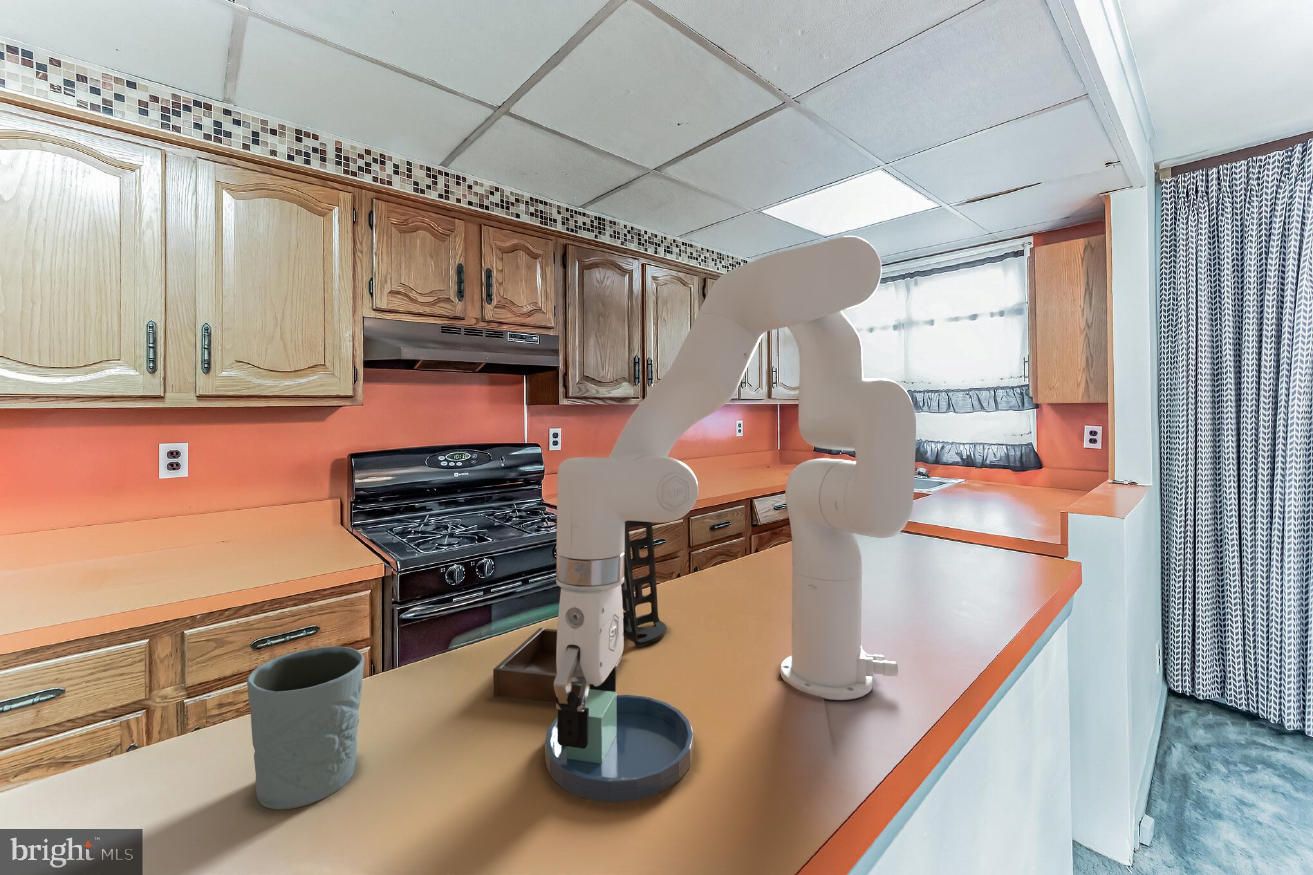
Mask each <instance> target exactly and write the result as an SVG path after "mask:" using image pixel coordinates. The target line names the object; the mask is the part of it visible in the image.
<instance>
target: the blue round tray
mask: <svg viewBox="0 0 1313 875" xmlns="http://www.w3.org/2000/svg"><path fill="white" fill-rule="evenodd" d="M557 729H558V716H556V717H555V719H554V720H553V721H552V723H551V724H550V725H549V727H548V728H547V731H546V735H545V740H544V762H545V764H546V769H547V771H548V773H549V776H550V777H551V778H552V780H553V781H554V782H555V783H556V784H558V786H560V788H562V789H564V790H566V791H567V792H568V793H571V794H573V795H575V796H578V797H581V798H584V799H587V800H591V801H598V802H606V803H607V802H608V803H611V802H612V803H620V802H631V801H636V800H637V801H638V800H642V799H645V798H649V797H652V796H655V795H657V794H660V793H662V792H665V791H666V790H668V789H670V788H671V787H672V786H674V785H675V784H676V783H677V782H679V781H680V780H681V779H682V778H683V777H684V776H685V774H686V773H687V772H688V770H689V769H690V768H691V764H692V761H693V756H694V753H695V752H694V751H695V746H694V744H695V743H694V738H695V735H694V731H693V728H692V725H691V722H690V720H689V719H688V718H687V717H686V716H685V714H684V713H683V712H682V711H681V710H680V709H678V708H676V707H674V706H673V705H671V704H669V702H668V703H667V702H666V701H663V700H659V699H656V698H652V697H650V696H643V695H633V694H617V734H616V736H615V738H614V740H613V742H612V744H611V746H610V748H609V750H608V752H607V754H606V756H605V758H604V760H603V762H602V764H600V763H593V762H586V761H579V760H572V759H567V746H562V745H559V744H558V742H557Z"/></svg>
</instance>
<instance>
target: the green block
mask: <svg viewBox="0 0 1313 875" xmlns="http://www.w3.org/2000/svg"><path fill="white" fill-rule="evenodd" d="M617 695H618V693H617V691H616V692H610V691H601V690H592V689H589V692H588V696H587V701H586V706H585V708H589V735H588V745H587V747H586V748H585V749H582V748H575V747H569V746H567V759H572V760H579V761H586V762H593V763H600V764H602V762H603V760H604V758H605V756H606V754H607V752H608V750H609V748H610V746H611V744H612V742H613V740H614V738H615V736H616V734H617Z"/></svg>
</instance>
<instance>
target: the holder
mask: <svg viewBox="0 0 1313 875" xmlns="http://www.w3.org/2000/svg"><path fill="white" fill-rule="evenodd" d="M637 527H645V536H644V537H641V538H634V539H631V538H630V531H629V530H630V529H631V528H637ZM654 543H655V542H654V531H653V522H644V521H625V551H624V583H623V584H622V585H621V589H622V604H623V634H624V635H625V636H624V637H626V639H628V640H629V641H631V642H633V644H634V645H635V647H637V648H642V647H645V646H648V645H649V644H651V643H654V642H656V641H658V640H659V639H661V638H662V637H664V636H665V635H666V634H667V631H668V630H667V629H668V628H667V624H665V623H664V622H663V621H661V619H660V618H659V607H658V591H657V590H658V588H657V574H656V573H657V572H656V571H657V570H656V560H655V559H656V558H655V557H656V556H655V544H654ZM641 546H646V548H647V550H646V551H647V555H646V556H643V557H641V555H640V554H641V553H640V547H641ZM644 565H647V566H648V574H647V575H646V576H645V575H644V576H639V577H634V573H633V568H634V567H638V566H644ZM645 584H648V585H649V589H650V592H649V594H646V595H644V594H643V586H644V585H645ZM647 603H650V610H651V611H650V613H647V614H643V615H639V616H637V611H636V607H637V606H639V605H643V604H647ZM648 623H653V625H654V626H641V625H645V624H648ZM638 637H641V638H640V639H638Z"/></svg>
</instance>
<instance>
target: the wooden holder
mask: <svg viewBox="0 0 1313 875" xmlns="http://www.w3.org/2000/svg"><path fill="white" fill-rule="evenodd" d="M556 648H557V629H556V628H545V627H539V628H538V629H536V630H535V632H534V633H532V634H531V635H530V636H529V637H528V638H527V639H525V640H524V642H522V643H521V644H520V645H519V646H518V647H517V648H515V649H514V650H513V651H512V652H511V653H510V654H509V655H508V656H506V657H505V658H504V659H503V660H502V661H501V662H500V663H499V664H498V665H496V666H495V667H494V668H492V674H493V675H492V677H493V678H492V683H493V684H492V687H493V688H492V690H493V691H492V692H493V697H496V698H497V697H498V698H503V699H515V700H521V701H530V702H537V703H538V702H539V703H548V704H555V705H556V700H555V690H554V680H555V678H556V675H557V666H556ZM622 661H623V654H622V655H621V657H620V659H619V660H618V662H617V663H616V665H615V666H616V668H617V667H618V666H620V665H621V663H622ZM574 676H576V677H584V678H585V676H578V675H574ZM571 686H572V689H571V691H572V692H575V693H576V695H577V696H578V697H579V694H580V690H581V686H579V685H571Z"/></svg>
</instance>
